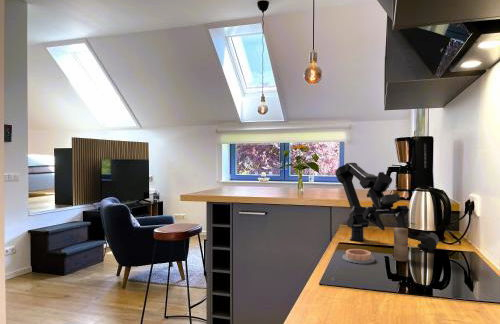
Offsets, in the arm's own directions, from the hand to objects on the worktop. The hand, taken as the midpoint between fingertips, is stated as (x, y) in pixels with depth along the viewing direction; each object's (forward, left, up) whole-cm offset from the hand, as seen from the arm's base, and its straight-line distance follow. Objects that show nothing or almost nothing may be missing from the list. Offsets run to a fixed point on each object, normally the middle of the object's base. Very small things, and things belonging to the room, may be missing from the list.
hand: (394, 229), depth 141 cm
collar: (+9, -13, -11) cm, 19 cm away
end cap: (-16, +14, -11) cm, 24 cm away
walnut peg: (+4, +2, -11) cm, 12 cm away
